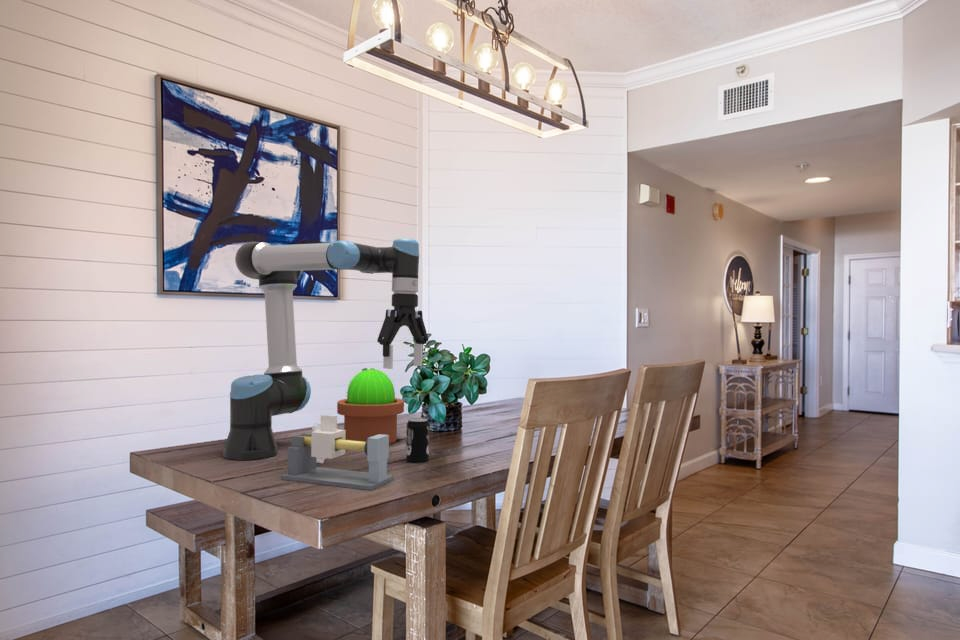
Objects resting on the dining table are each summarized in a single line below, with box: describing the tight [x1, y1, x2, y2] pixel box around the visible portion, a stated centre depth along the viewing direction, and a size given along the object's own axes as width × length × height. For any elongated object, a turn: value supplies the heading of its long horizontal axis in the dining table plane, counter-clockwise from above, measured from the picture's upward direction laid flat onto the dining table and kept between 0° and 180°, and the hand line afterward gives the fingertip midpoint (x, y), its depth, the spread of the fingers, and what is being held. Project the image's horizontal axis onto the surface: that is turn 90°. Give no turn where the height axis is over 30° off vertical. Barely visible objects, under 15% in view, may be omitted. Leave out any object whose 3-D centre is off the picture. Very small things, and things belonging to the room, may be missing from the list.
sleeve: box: [311, 414, 346, 460], centre depth 156 cm, size 6×6×10 cm
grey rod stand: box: [281, 432, 395, 491], centre depth 155 cm, size 26×11×12 cm, turn 69°
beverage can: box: [405, 417, 430, 464], centre depth 177 cm, size 7×7×12 cm
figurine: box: [311, 422, 326, 464], centre depth 175 cm, size 10×5×12 cm, turn 52°
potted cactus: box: [336, 367, 405, 445], centre depth 204 cm, size 22×22×25 cm
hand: (403, 367), depth 175 cm, fingers open, 13 cm apart
